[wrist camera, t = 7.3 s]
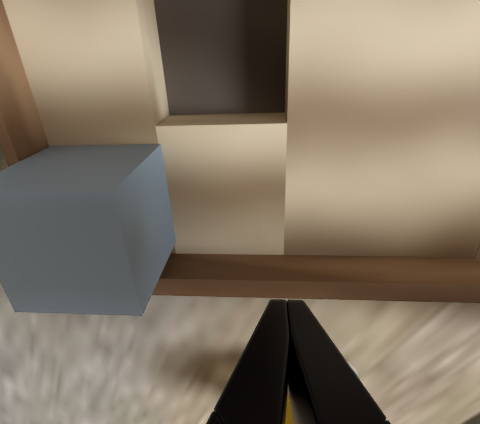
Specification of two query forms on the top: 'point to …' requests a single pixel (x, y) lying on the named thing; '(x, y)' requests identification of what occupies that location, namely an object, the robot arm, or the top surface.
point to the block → (85, 229)
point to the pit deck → (273, 133)
